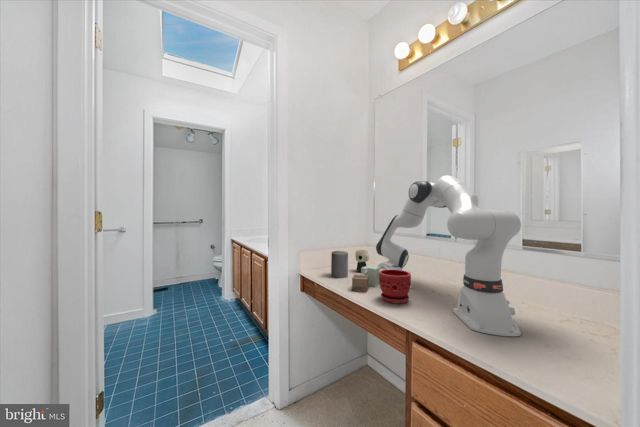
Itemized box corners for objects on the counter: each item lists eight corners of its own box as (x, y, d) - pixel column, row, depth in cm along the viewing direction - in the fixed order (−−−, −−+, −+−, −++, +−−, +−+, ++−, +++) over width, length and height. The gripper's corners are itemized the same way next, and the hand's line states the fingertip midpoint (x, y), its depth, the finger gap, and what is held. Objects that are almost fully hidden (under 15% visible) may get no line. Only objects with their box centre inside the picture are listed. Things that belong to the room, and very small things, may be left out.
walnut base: (367, 292, 118) (367, 279, 118) (352, 290, 120) (352, 278, 120) (368, 287, 125) (368, 275, 124) (354, 286, 126) (354, 274, 126)
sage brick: (371, 283, 131) (371, 266, 131) (379, 285, 128) (379, 267, 128) (367, 285, 128) (367, 267, 128) (375, 287, 125) (375, 269, 125)
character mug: (351, 270, 157) (351, 249, 157) (359, 269, 161) (359, 248, 161) (363, 274, 148) (364, 252, 148) (372, 272, 152) (372, 251, 152)
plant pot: (417, 301, 106) (417, 273, 106) (395, 308, 99) (396, 277, 99) (393, 292, 117) (393, 266, 117) (372, 297, 111) (372, 270, 110)
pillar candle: (328, 274, 148) (328, 249, 147) (342, 272, 152) (342, 248, 151) (336, 279, 139) (336, 252, 138) (351, 277, 143) (351, 250, 143)
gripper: (368, 262, 145) (355, 266, 134) (403, 267, 131) (391, 273, 121) (368, 273, 145) (355, 278, 134) (403, 279, 131) (391, 286, 121)
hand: (372, 275), depth 127 cm, fingers open, 7 cm apart
